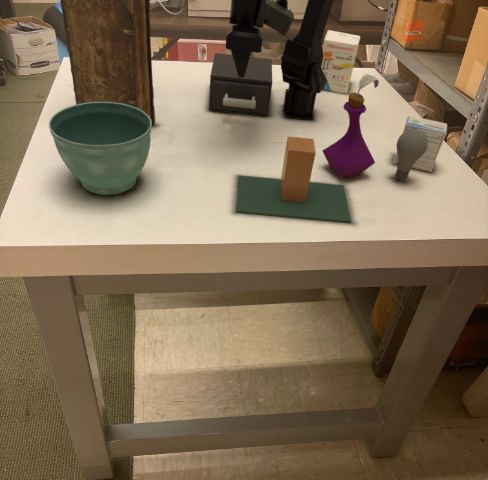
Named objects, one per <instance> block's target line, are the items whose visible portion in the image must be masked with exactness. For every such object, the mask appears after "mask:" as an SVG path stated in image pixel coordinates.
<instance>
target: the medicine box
mask: <svg viewBox="0 0 488 480" xmlns="http://www.w3.org/2000/svg"><path fill="white" fill-rule="evenodd" d="M410 129H418V130H420V131H422V132H423V133H424V134H425V135H426V137H427V140H428V146H427V149H426V151H425V153H424V154H423V155H422V156H421V157H420V158H419V159H418V160H417V161H416V162H415V163H414V165H413V167H412V169H416V170H420V171H425V172H429V173H432V171H433V169H434V166H435V163H436V161H437V158H438V155H439V153H440V150H441V148H442V146H443V143H444V141H445V138H446V136H447V132H448V131H447V130H448V124H447V123H445V122H441V121H436V120H432V119H428V118H424V117H418V116H413V115H408V116H407V118H406V121H405V124H404V128H403V131H402V134H403V133H404V132H405V131H407V130H410ZM394 156H395V157H394V160H393V164H394V165H397V164H398V153H397V152H396V153H395V155H394Z"/></svg>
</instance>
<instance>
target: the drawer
mask: <svg viewBox="0 0 488 480" xmlns="http://www.w3.org/2000/svg"><path fill="white" fill-rule="evenodd" d="M268 94H269V86H267V85H264V84H255V83H245V82H235V81H226V80H213V83H212V109H221V110H231V111H240V112H250V113H260V114H266V110H267V102H268Z"/></svg>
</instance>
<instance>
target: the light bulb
mask: <svg viewBox="0 0 488 480" xmlns="http://www.w3.org/2000/svg"><path fill="white" fill-rule="evenodd" d="M427 146H428V140H427V137H426V135H425V134H424V133H423V132H422V131H420V130H418V129H410V130H407V131H405V132H404V133H403V132H402V133H401V135H399V137H398V139H397V142H396V153H398V164H396V171H395V175H394V176H395V178H396V179H397V180H398V181H403V180H404V181H405V180H407V178H408V176H409V174H410V171H412V169H413V168H412V167H413V165H414V163H415V162H416V161H417V160H418V159H419V158H420V157H421V156H422V155H423V154H424V153H425V151H426V149H427Z"/></svg>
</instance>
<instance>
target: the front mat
mask: <svg viewBox="0 0 488 480" xmlns="http://www.w3.org/2000/svg"><path fill="white" fill-rule="evenodd" d="M280 182H281V178H271V177H261V176H251V175H250V176H249V175H241V174H239V175H238V176H237V191H236V204H235V213H238V214H249V215H259V216H269V217H270V216H271V217H280V218H292V219H303V220H314V221H325V222H335V223H336V222H337V223H345V224H346V223H347V224H351V223H352V219H351V213H350V209H349V204H348V200H347V195H346V190H345V185H343V184H334V183H326V182H325V183H323V182H313V181H310V183H309V188H308V193H307V198H306V202H305V203H304V202H294V201H283V200H281V198H280Z"/></svg>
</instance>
